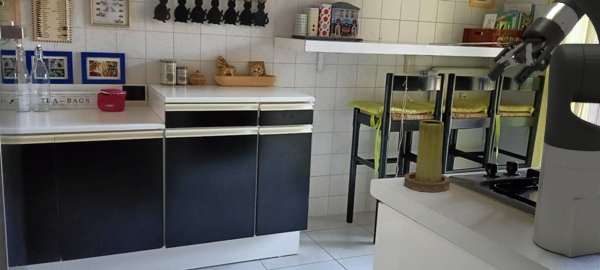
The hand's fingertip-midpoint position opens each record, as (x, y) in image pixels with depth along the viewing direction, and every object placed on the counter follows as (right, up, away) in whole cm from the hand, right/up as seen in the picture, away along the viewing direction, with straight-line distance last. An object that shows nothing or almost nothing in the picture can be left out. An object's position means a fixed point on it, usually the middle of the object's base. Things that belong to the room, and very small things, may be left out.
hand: (503, 80), depth 110 cm
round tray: (-16, -24, +5) cm, 29 cm away
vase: (-16, -23, +5) cm, 28 cm away
